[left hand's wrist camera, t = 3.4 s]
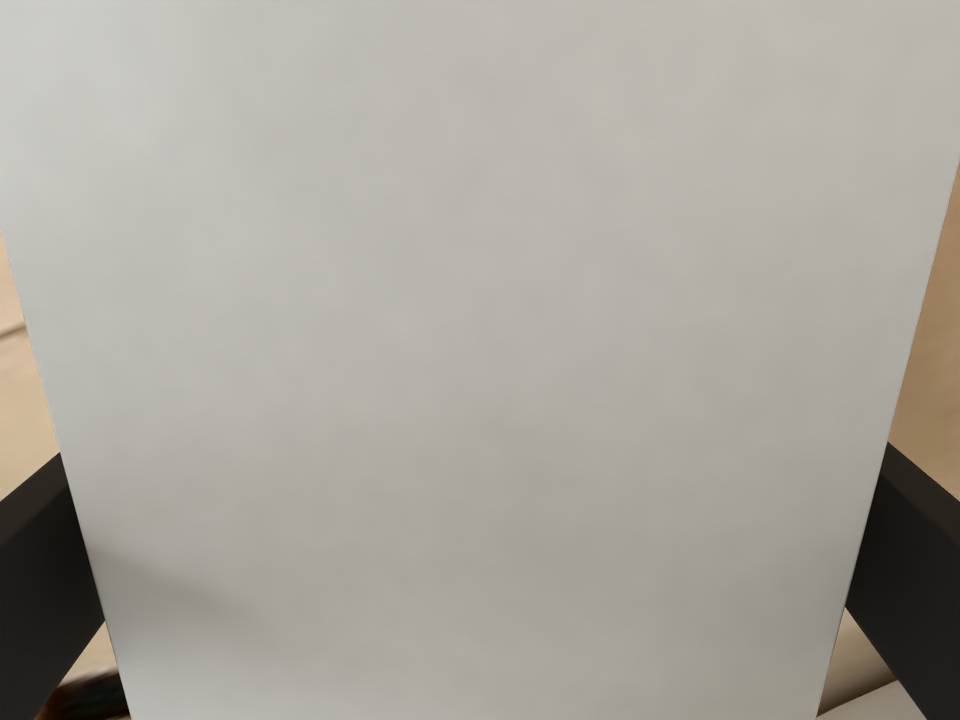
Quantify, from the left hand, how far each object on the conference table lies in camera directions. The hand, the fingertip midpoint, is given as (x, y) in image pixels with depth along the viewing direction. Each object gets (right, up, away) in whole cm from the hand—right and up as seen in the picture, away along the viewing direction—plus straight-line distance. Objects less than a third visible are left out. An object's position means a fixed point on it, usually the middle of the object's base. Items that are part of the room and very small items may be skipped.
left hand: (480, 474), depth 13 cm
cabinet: (0, +6, +6) cm, 8 cm away
